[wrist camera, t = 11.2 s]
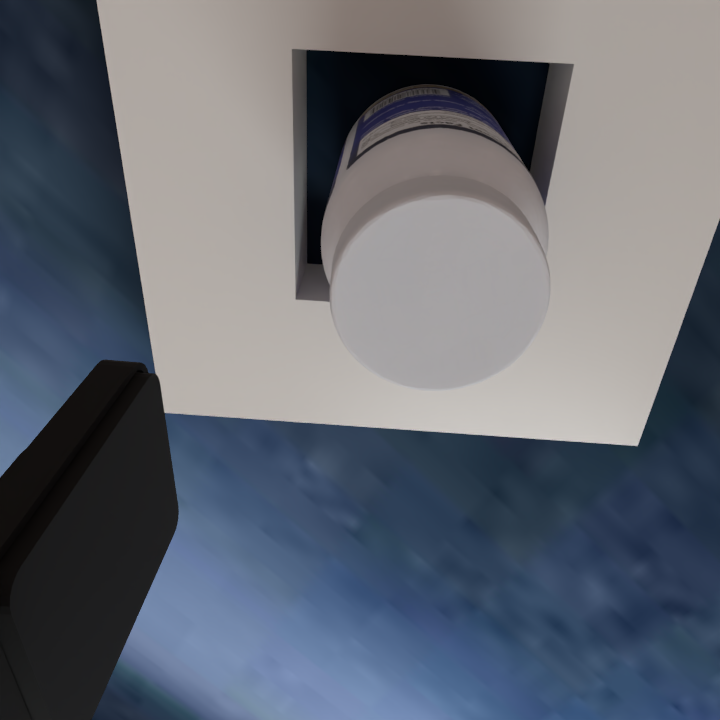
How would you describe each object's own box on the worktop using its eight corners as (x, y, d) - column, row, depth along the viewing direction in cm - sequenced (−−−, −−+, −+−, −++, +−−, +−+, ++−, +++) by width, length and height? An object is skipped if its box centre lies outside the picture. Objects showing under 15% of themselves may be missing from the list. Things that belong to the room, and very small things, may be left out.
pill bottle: (447, 275, 24) (471, 448, 15) (312, 199, 22) (257, 343, 14) (544, 138, 21) (639, 258, 12) (395, 43, 20) (389, 106, 11)
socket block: (792, -160, 16) (864, -182, 14) (614, 398, 26) (637, 445, 24) (113, -190, 17) (62, -215, 14) (184, 369, 27) (161, 412, 24)
